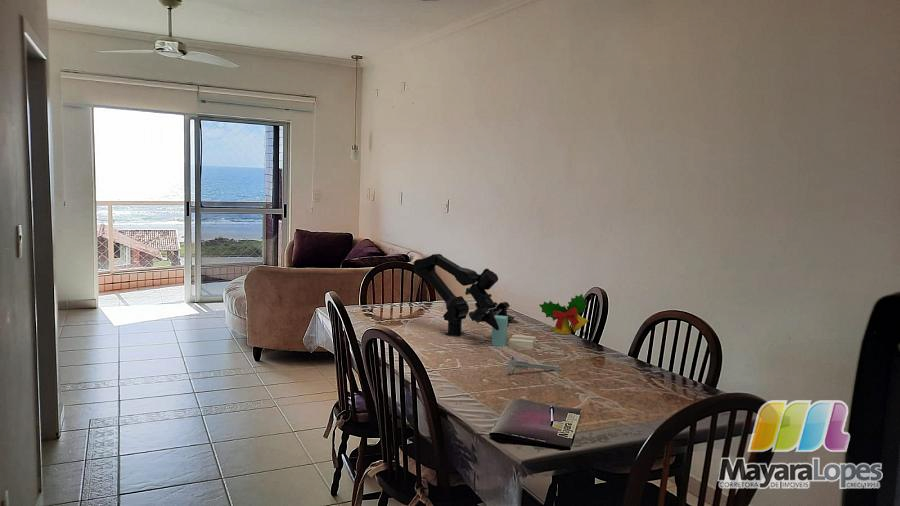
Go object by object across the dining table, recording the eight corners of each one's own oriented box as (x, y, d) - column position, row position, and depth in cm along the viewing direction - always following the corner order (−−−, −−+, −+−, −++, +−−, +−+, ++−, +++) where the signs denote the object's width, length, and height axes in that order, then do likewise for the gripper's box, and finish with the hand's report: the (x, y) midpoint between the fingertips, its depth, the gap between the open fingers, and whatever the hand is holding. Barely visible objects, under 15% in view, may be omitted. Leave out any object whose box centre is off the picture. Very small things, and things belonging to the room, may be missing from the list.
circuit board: (471, 314, 306) (472, 307, 305) (497, 312, 312) (498, 306, 311) (496, 325, 283) (497, 318, 283) (524, 323, 289) (524, 316, 289)
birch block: (513, 343, 253) (513, 334, 253) (535, 345, 250) (535, 336, 250) (508, 348, 244) (509, 339, 244) (531, 351, 242) (532, 342, 241)
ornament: (545, 342, 274) (532, 310, 270) (549, 332, 281) (537, 302, 278) (592, 333, 264) (580, 300, 260) (596, 324, 271) (584, 291, 267)
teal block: (494, 342, 252) (495, 315, 251) (506, 343, 251) (507, 316, 249) (491, 345, 247) (492, 317, 246) (504, 346, 246) (505, 318, 244)
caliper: (508, 375, 210) (509, 357, 209) (507, 374, 211) (508, 356, 210) (563, 370, 217) (563, 352, 217) (561, 369, 218) (562, 351, 218)
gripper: (483, 305, 264) (503, 335, 259) (455, 312, 250) (476, 344, 244) (499, 289, 258) (520, 320, 253) (471, 295, 244) (494, 327, 238)
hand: (503, 328), depth 247 cm, fingers closed on teal block, 6 cm apart
